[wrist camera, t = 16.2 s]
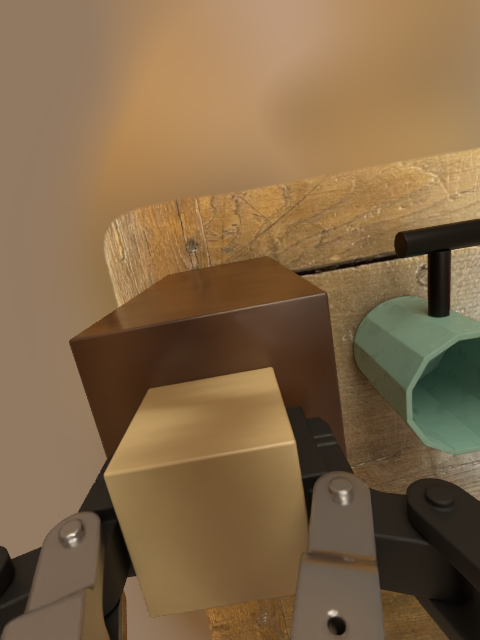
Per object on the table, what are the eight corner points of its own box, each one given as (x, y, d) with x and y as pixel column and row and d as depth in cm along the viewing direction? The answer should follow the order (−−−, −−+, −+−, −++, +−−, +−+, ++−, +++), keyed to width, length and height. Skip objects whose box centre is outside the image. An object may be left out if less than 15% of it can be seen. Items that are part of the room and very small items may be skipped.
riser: (189, 368, 32) (135, 547, 14) (167, 274, 30) (67, 340, 12) (283, 351, 32) (354, 509, 14) (268, 255, 30) (327, 292, 11)
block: (176, 492, 13) (149, 619, 9) (147, 387, 12) (101, 474, 8) (290, 472, 13) (320, 592, 9) (272, 365, 12) (296, 441, 8)
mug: (344, 233, 29) (402, 240, 19) (450, 215, 29) (560, 213, 19) (356, 392, 33) (407, 462, 24) (447, 377, 33) (536, 442, 24)
